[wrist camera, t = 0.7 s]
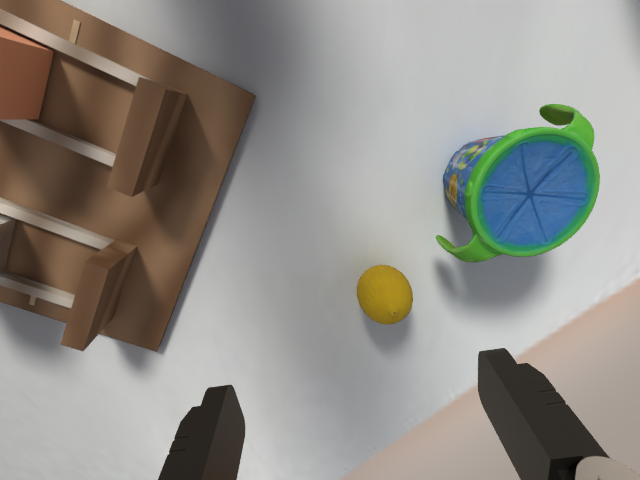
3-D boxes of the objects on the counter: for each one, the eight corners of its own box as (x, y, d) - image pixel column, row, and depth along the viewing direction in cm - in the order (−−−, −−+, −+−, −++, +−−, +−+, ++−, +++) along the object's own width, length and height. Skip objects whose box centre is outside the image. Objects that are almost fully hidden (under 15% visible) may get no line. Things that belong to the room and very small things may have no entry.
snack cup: (454, 258, 41) (503, 302, 32) (389, 200, 38) (422, 228, 29) (562, 152, 38) (653, 164, 28) (500, 80, 35) (577, 66, 26)
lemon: (358, 304, 42) (373, 345, 35) (346, 263, 40) (358, 296, 33) (404, 290, 42) (428, 328, 35) (393, 248, 40) (416, 278, 33)
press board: (-93, 264, 37) (-177, 297, 30) (-49, -53, 29) (-149, -103, 22) (159, 346, 42) (134, 389, 35) (255, 95, 34) (247, 90, 28)
